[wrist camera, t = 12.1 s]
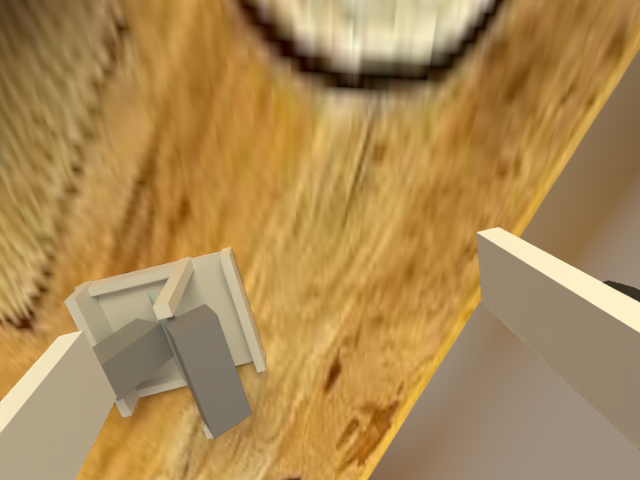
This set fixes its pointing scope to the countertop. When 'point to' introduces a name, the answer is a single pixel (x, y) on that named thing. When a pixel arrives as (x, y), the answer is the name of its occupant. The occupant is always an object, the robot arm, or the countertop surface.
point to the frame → (170, 311)
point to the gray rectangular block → (133, 354)
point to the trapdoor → (206, 366)
